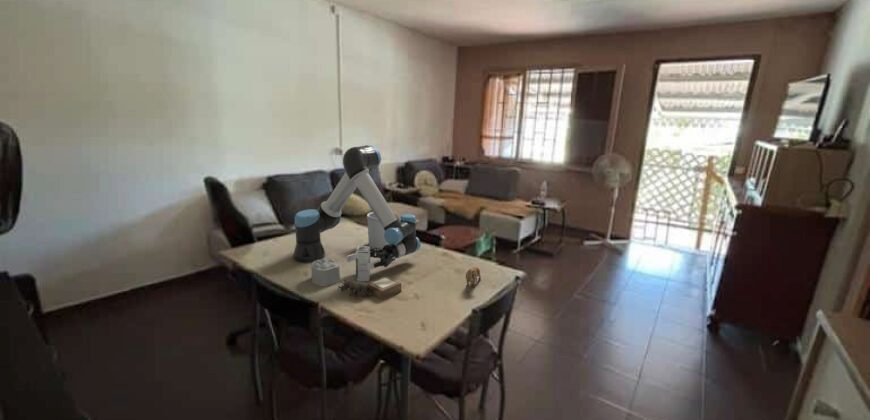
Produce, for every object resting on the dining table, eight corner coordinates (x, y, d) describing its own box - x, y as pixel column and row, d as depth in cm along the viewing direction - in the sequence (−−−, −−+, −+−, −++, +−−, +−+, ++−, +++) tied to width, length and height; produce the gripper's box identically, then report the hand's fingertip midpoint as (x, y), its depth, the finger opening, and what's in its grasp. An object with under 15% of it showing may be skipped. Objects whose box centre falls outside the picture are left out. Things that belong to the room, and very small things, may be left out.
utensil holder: (392, 249, 207) (392, 218, 203) (365, 248, 207) (364, 217, 203) (395, 240, 222) (395, 211, 217) (370, 240, 222) (369, 210, 217)
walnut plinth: (366, 291, 157) (366, 282, 156) (385, 284, 164) (385, 275, 163) (382, 299, 150) (382, 290, 149) (401, 291, 158) (401, 282, 157)
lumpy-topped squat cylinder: (321, 287, 160) (320, 268, 158) (306, 278, 169) (305, 259, 167) (343, 280, 167) (342, 262, 165) (327, 272, 176) (326, 254, 174)
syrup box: (357, 276, 171) (356, 245, 168) (370, 276, 172) (370, 245, 168) (355, 281, 166) (354, 250, 162) (369, 281, 166) (369, 250, 163)
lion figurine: (476, 292, 159) (477, 271, 157) (463, 290, 160) (464, 270, 158) (481, 278, 173) (482, 259, 170) (470, 276, 174) (471, 258, 172)
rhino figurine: (341, 290, 158) (340, 276, 157) (372, 294, 155) (371, 280, 153) (336, 294, 154) (335, 280, 153) (367, 299, 151) (367, 285, 149)
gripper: (412, 265, 173) (376, 279, 157) (376, 252, 189) (340, 263, 173) (412, 249, 171) (375, 262, 156) (376, 237, 187) (339, 247, 172)
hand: (356, 263), depth 165 cm, fingers open, 13 cm apart
